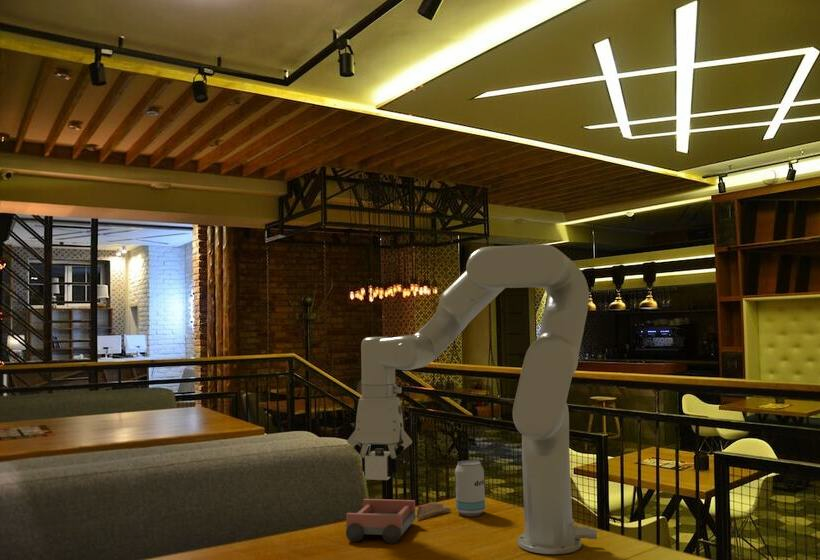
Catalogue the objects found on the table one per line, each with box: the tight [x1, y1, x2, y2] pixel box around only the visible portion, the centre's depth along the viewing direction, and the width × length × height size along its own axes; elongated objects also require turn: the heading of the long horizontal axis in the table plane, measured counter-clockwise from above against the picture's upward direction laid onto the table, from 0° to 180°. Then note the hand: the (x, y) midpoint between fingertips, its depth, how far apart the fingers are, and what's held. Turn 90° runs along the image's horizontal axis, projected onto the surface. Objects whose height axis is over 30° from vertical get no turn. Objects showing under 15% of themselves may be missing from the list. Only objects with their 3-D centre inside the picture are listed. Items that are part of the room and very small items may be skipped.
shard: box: [416, 501, 452, 521], centre depth 160 cm, size 11×8×2 cm
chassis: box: [345, 498, 417, 545], centre depth 146 cm, size 12×15×6 cm
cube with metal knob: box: [364, 447, 391, 481], centre depth 147 cm, size 5×6×6 cm
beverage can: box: [454, 459, 486, 517], centre depth 159 cm, size 7×7×12 cm
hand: (379, 474), depth 147 cm, fingers closed on cube with metal knob, 5 cm apart
